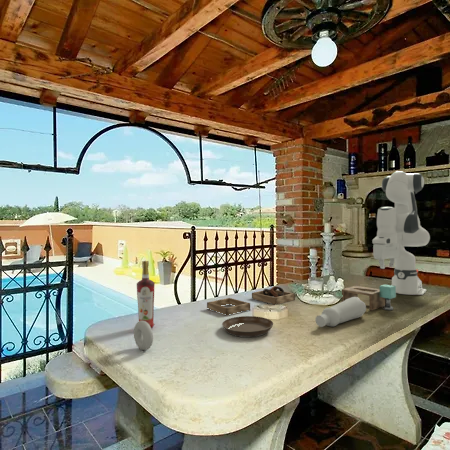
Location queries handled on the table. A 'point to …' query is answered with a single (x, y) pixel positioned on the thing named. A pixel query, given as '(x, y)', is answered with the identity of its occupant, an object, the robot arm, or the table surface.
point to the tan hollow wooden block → (374, 296)
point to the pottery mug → (273, 292)
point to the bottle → (341, 312)
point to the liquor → (146, 296)
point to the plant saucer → (248, 326)
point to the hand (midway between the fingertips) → (387, 267)
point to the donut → (143, 335)
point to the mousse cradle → (237, 308)
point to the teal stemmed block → (387, 295)
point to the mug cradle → (273, 300)
